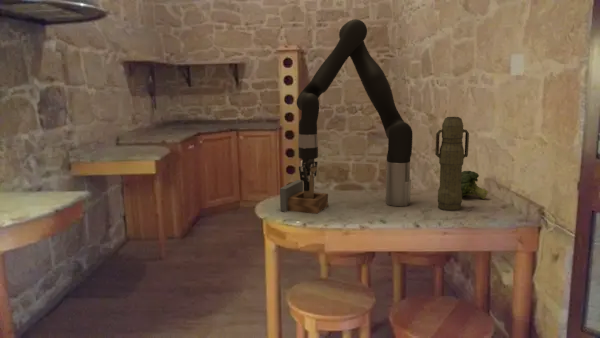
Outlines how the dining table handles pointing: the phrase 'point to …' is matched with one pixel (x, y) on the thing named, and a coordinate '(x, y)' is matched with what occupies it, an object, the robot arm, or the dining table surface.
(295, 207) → the walnut block
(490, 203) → the dining table surface
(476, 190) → the vegetable
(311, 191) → the handle
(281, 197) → the slate wall
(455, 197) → the thermos
